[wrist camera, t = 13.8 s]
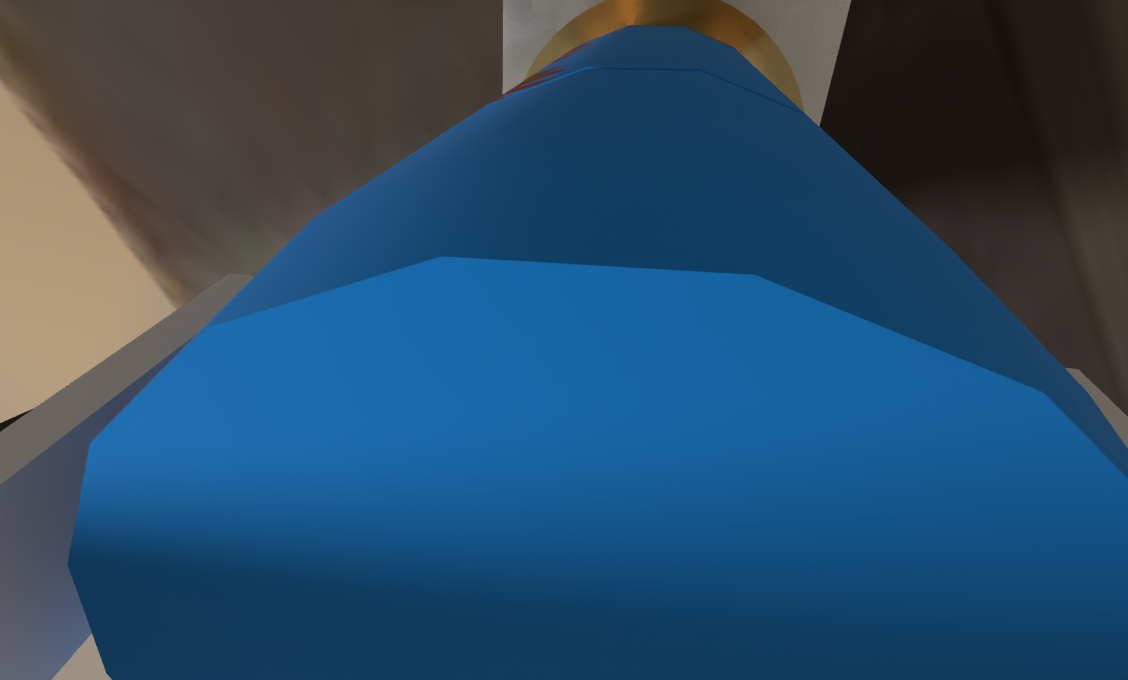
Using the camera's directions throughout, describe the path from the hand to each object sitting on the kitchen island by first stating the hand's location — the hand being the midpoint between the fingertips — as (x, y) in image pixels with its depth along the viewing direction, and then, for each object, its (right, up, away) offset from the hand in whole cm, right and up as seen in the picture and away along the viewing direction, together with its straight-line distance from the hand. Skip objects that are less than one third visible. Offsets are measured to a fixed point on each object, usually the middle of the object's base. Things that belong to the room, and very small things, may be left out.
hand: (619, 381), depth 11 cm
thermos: (+3, +9, +16) cm, 19 cm away
